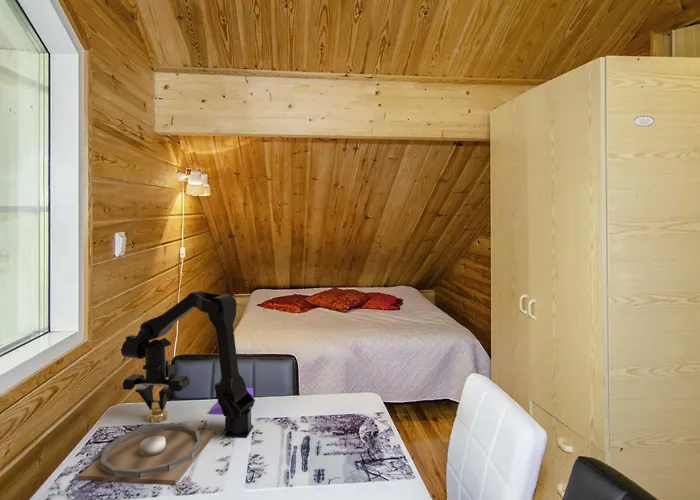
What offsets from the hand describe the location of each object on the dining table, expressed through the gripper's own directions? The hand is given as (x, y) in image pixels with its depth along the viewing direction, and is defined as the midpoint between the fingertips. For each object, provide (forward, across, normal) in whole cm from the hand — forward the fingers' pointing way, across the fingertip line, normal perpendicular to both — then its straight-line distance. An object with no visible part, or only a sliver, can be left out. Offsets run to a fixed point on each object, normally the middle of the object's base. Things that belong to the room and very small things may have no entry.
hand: (157, 409), depth 134 cm
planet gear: (+3, 0, 0) cm, 3 cm away
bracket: (+4, -21, -8) cm, 23 cm away
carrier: (+3, -10, +20) cm, 22 cm away
